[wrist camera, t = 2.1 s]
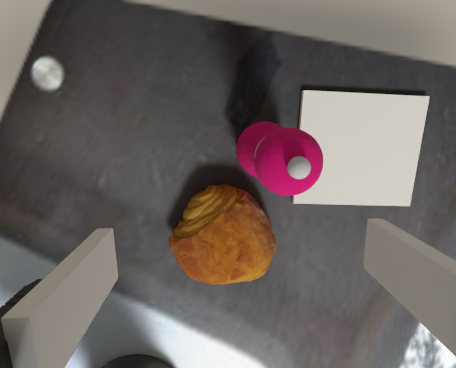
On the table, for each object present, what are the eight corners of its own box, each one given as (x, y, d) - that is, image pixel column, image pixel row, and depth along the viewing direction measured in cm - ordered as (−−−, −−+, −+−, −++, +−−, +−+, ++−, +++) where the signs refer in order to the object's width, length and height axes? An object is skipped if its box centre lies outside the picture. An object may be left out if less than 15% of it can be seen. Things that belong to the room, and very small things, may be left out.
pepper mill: (281, 172, 42) (343, 217, 22) (232, 171, 41) (251, 214, 22) (285, 122, 40) (356, 122, 21) (235, 120, 40) (257, 117, 20)
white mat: (291, 202, 43) (293, 203, 42) (301, 90, 39) (303, 90, 39) (406, 204, 44) (409, 206, 43) (425, 96, 41) (429, 96, 40)
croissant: (243, 168, 44) (248, 169, 36) (284, 258, 45) (297, 278, 37) (158, 207, 44) (144, 217, 36) (200, 296, 45) (196, 324, 37)
